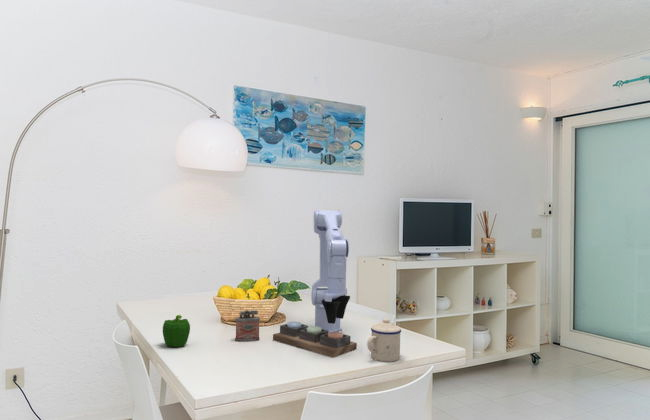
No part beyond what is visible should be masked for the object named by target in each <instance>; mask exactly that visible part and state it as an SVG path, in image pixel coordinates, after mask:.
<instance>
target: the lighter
mask: <svg viewBox="0 0 650 420" xmlns="http://www.w3.org/2000/svg"><path fill="white" fill-rule="evenodd" d="M257 315H259V310H257V309H256V310H254V309H253V310H249V309H245V310H244V311H243V310H242V311H241V310H240V311H239V316H237V317H235V322H236V323H235V339H234V342H237V343H240V342H241V343H242V342H243V343H244V342H245V343H246V342H258V341H260V320H261V317H260V316H257Z"/></svg>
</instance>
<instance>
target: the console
mask: <svg viewBox="0 0 650 420" xmlns="http://www.w3.org/2000/svg"><path fill="white" fill-rule="evenodd" d="M307 327H309V325H308V324H302V323H301V327H299V328H295V329H294V328H290V327H287V323H284V324H281V325H279V332H277V333H273V334H272V341H274V342H278V343H281V344H285V345H287V346H291V347H294V348H295V347H296V348H299V349H302V350H305V351H308V352H312V353H315V354H319V355H322V356H326V357H330V358H335V356H336V357H338V355H339V356H341V355H343V354H347V353H350V352H353V351H355V349H356V350H358V349H357V347H358V346H357V345H358V342H354V341H351V336H350V335H349V334H344V333H343V338H340V339H333V338H329V337H328V332H329V331H328V330H324V329H321V332H320V333H316V334H314V333H310V332H307ZM352 350H353V351H352Z"/></svg>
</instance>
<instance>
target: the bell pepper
mask: <svg viewBox="0 0 650 420" xmlns="http://www.w3.org/2000/svg"><path fill="white" fill-rule="evenodd" d="M182 317H183V316H182V315H181V314H177V315H176V316H175V318H174V319H166V320H164V322H163V325H162V336H163V341H164V344H165V345H166V346H167V347H175V348H179V347H184V346H185V345H186V344H187V343H188V340H189V337H190V336H189V335H190V333H191V332H190V331H191V324H190V322H189V320H188V319H187V318H182Z"/></svg>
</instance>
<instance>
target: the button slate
mask: <svg viewBox="0 0 650 420" xmlns="http://www.w3.org/2000/svg"><path fill="white" fill-rule="evenodd" d="M286 324H287V327H290V328H294V329H295V328H299V327H301V324H302V322H300V321H289V322H287V323H286Z"/></svg>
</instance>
